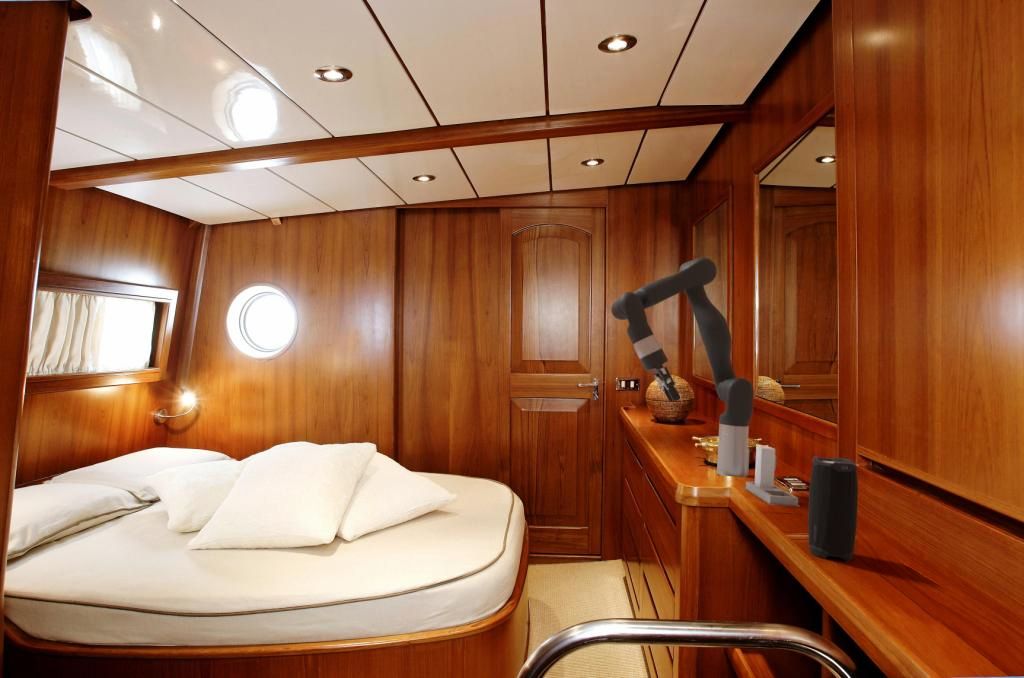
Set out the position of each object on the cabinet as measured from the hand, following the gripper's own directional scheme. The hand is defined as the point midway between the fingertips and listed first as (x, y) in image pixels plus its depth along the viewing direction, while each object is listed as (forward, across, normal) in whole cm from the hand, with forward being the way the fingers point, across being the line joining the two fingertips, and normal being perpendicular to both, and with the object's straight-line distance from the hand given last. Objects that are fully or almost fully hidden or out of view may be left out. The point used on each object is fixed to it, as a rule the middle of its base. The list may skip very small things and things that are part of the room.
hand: (675, 400), depth 166 cm
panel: (+36, -4, -10) cm, 38 cm away
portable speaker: (+39, -48, -6) cm, 62 cm away
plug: (+34, 0, -10) cm, 36 cm away
